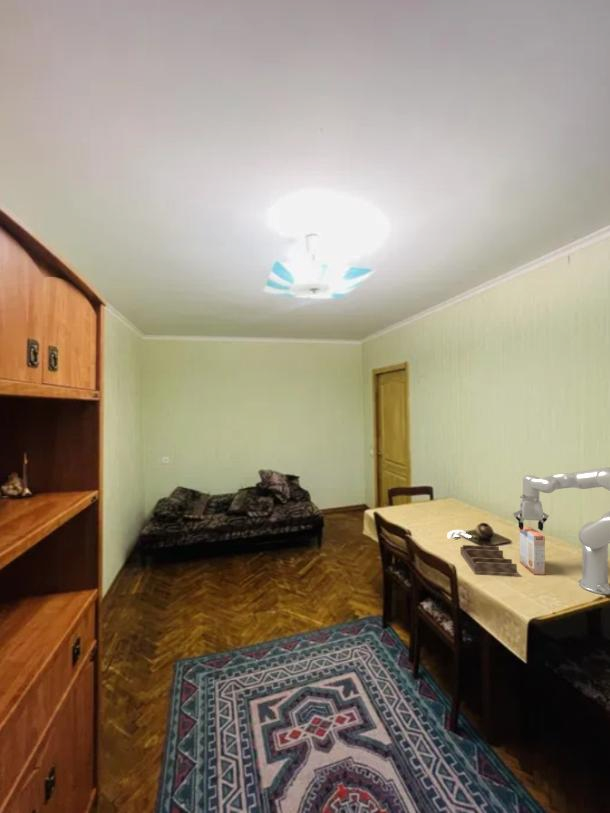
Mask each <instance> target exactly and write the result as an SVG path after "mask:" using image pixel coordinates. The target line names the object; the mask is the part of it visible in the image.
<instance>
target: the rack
mask: <svg viewBox="0 0 610 813" xmlns="http://www.w3.org/2000/svg"><path fill="white" fill-rule="evenodd" d="M460 555H461V557H462V558H463V560H464V561H465V562H466V564H467V565H468V567H469V568H470V569H471V571H472V572H473V574H474V575H479V576H481V575H482V576H496V577H497V576H499V577H500V576H501V577H518V578H519V577H520V576H521V575H520V573H519V572H518V571H517V566H518V564H517V563H513V559H512V558H505V557H504V551H503V549H501V550H500V547H499V546H497V545H496V546H495V545H494V546H493V545H473V544H472V545H471V544H469V545H468V544H462V546H460Z"/></svg>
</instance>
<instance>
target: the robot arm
mask: <svg viewBox="0 0 610 813" xmlns="http://www.w3.org/2000/svg"><path fill="white" fill-rule="evenodd" d="M569 488H570V489H571V488H573V489H574V488H575V489H580V490H586V489H595V488H604V489H606V490H608V491H610V467H601V468H595V469H587V470H582V471H576V472H575V471H573V472H568V473H560V474H559V473H558V474H554V475H553V474H552V475H548V476H545V477H543V478H540V477H539V476H536V475H531V474H529V475H528V474H526V475H524V476H523V478H522V495H520V499H521V500H520V505H519V510H518V511H515V512H514V513H513V516H514V518H515V519H516V520H517V522H518V528H519V530H520V529H521V530H523V527H524V521H525V520H526V521H538V522H537V529H538V530H539V531H541V532H543V531H544V524H545V522H547V520H548V518H549V516H550V515H549V514H548V513H545V512H544V509H543V504H542V501H540V492H541V493H543V494H551V493H554V491H556V490H562V489H569ZM577 535H578V539H579V540H578V541H579V542H580V543H581V547H582V548H581V568H582V569H581V571H582V572H581V573H582V574H581V575H582V576H581V578H579V580H578V582H577V583H578V585H579V586H580V588H583V589H584V590H586V591H589V592H591V593H594V594H598V595H610V585H609V564H608V562H609V561H608V558H609V557H608V553H609V544H610V510H609V511H607V512H605V513H604V514H602V516H601V518H598V519H597V520H595V521H589V522H587V523H585V524H584V525H583V526H582V527H581V529H580V530H579V532H578V534H577Z"/></svg>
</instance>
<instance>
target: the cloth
mask: <svg viewBox="0 0 610 813" xmlns="http://www.w3.org/2000/svg"><path fill="white" fill-rule="evenodd" d="M466 532H467V531H465V530H463V529H453V530H450V531H447V534H446V536H447V537H446V538H447V540H448V539H451V538H453V539H455V540H456V539H457V540H460V539H461V536H462V537H464V538H466V539H469V538H473V535H471V534H468V533H466ZM459 535H460V536H459Z"/></svg>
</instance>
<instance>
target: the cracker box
mask: <svg viewBox="0 0 610 813" xmlns="http://www.w3.org/2000/svg"><path fill="white" fill-rule="evenodd" d="M545 539H546V536H545V535H544V534H543V533H541V532H539V531H537V530H536V529H535V528H532V527H531V526H523V530H521V529H520V528H519V563H520V564H521V565H523V566H524V567H525V568H526V569H527V570H528V571H530V572H531V573H532V574H533V575H542V576H544V575H546V540H545Z"/></svg>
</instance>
